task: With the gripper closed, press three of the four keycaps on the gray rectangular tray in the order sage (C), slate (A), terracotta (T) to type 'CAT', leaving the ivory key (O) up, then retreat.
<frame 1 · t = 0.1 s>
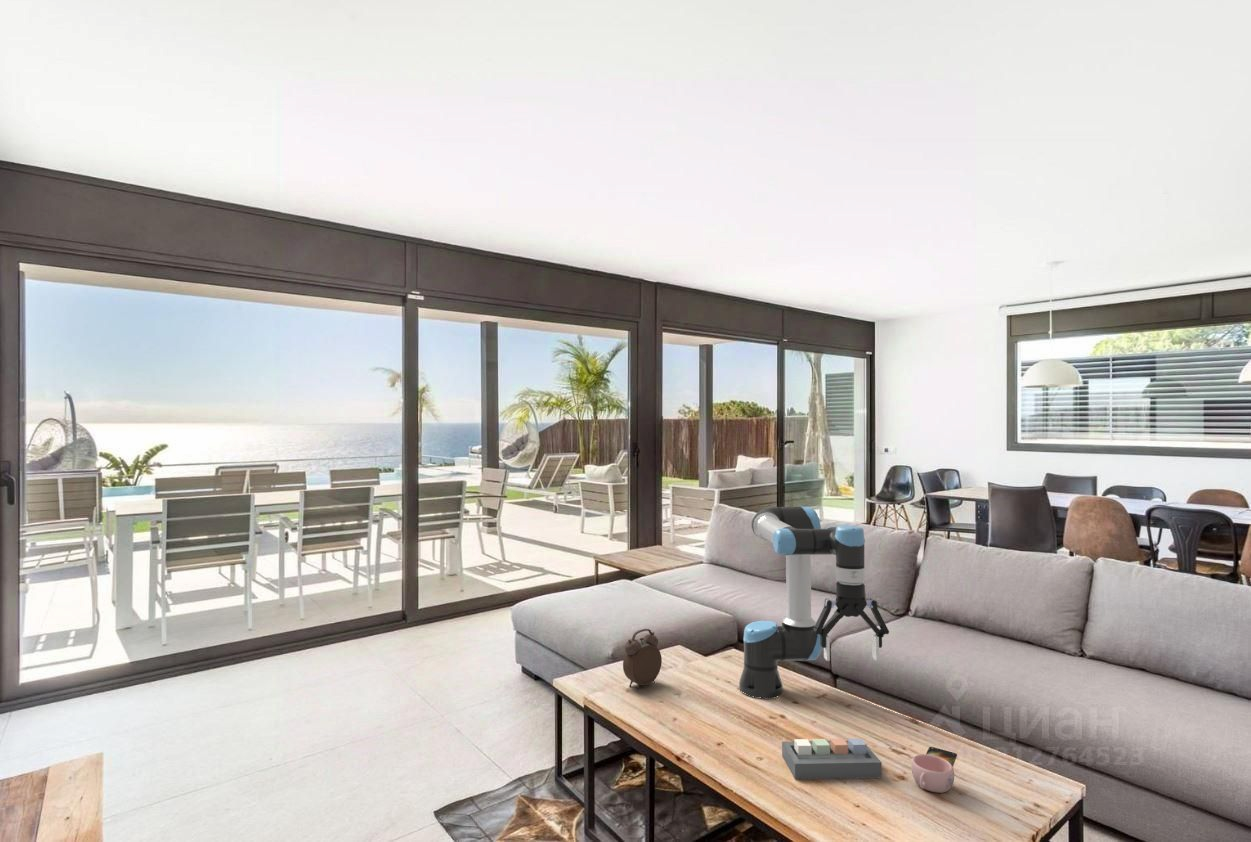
hand: (851, 659, 174), 28 cm above the table, fingers open, 13 cm apart
key A: (857, 746, 171), point 5 cm above the table, slide at 0.0 cm
key T: (839, 746, 171), point 5 cm above the table, slide at 0.0 cm
key C: (821, 746, 170), point 5 cm above the table, slide at 0.0 cm
gray rectangular tray: (830, 766, 170), on the table
key O: (802, 746, 170), point 5 cm above the table, slide at 0.0 cm
smartphone: (938, 763, 173), on the table
mug: (930, 788, 160), on the table
alarm clock: (641, 685, 227), on the table
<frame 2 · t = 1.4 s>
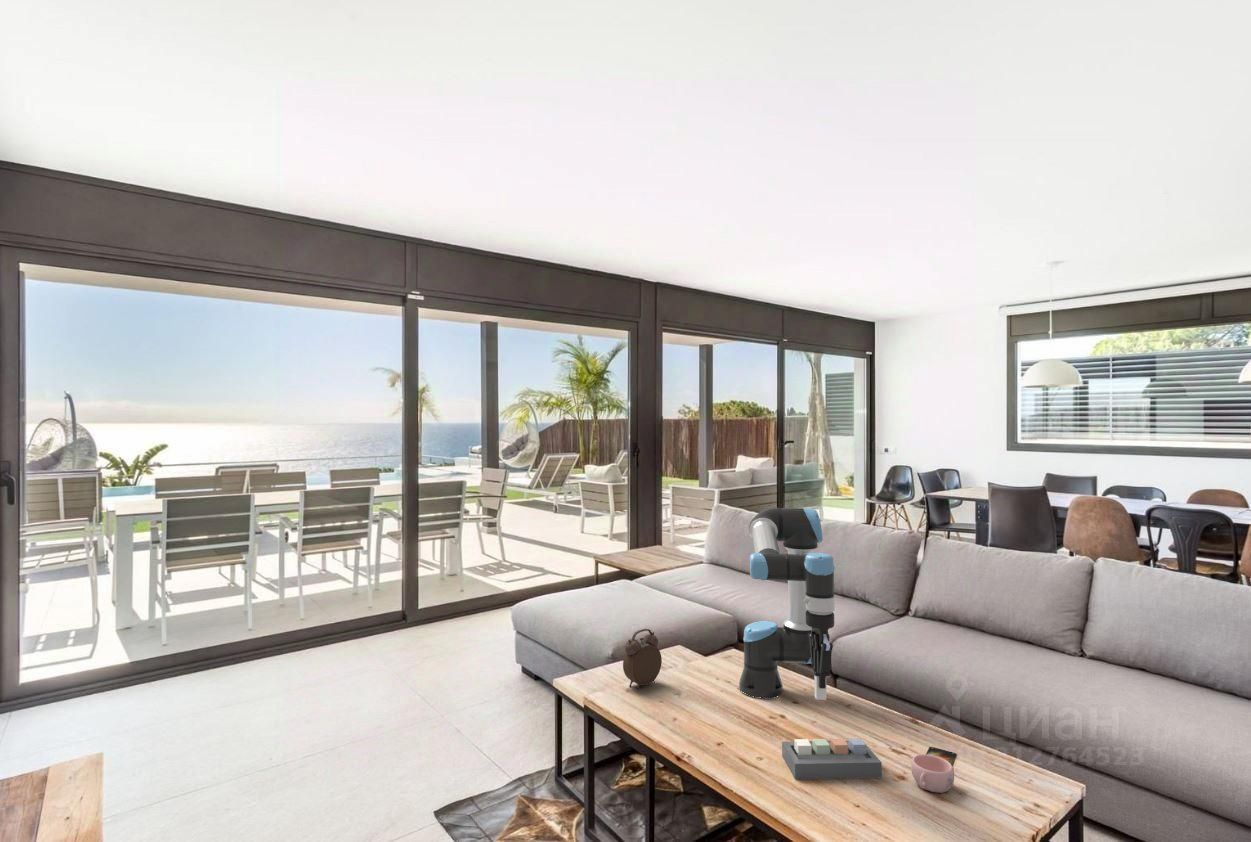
hand: (820, 698, 171), 18 cm above the table, fingers closed
nothing on the table moved.
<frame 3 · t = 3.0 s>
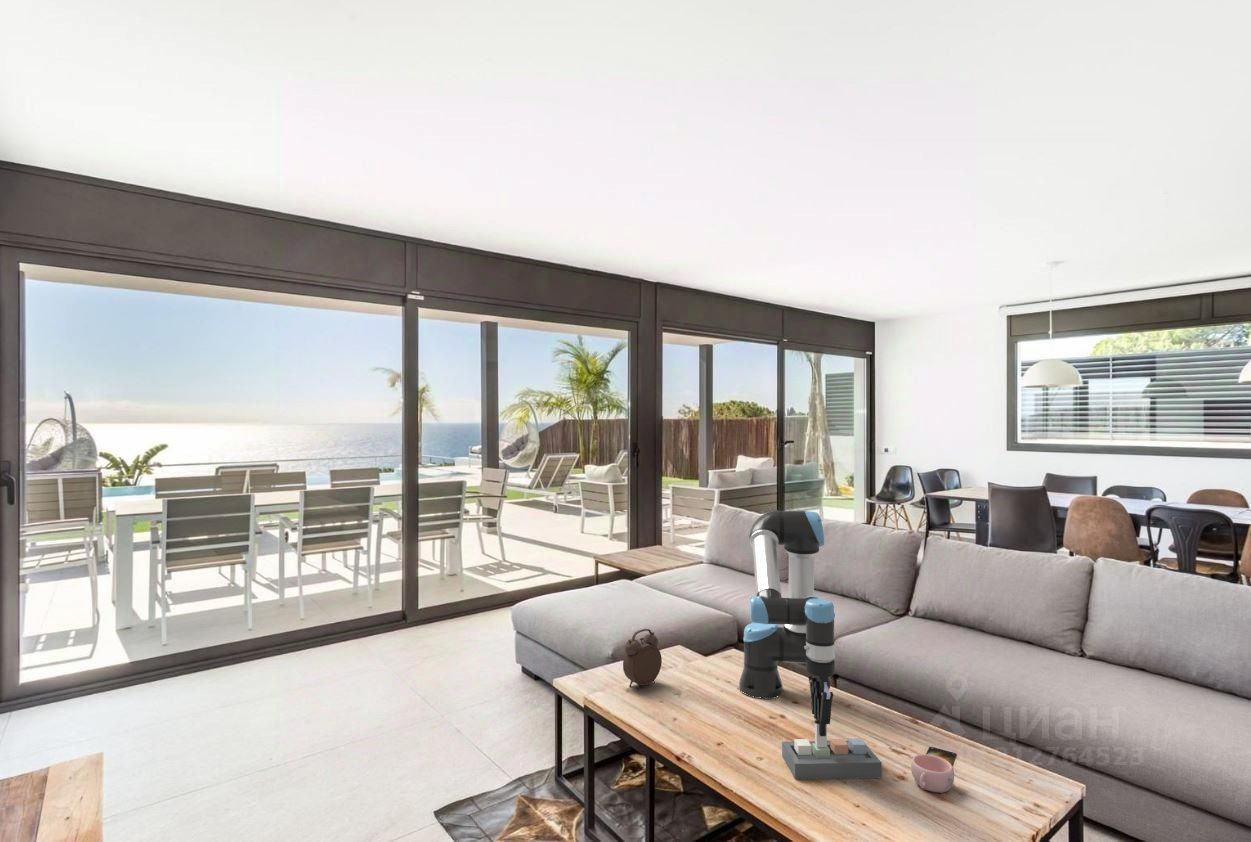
hand: (821, 745, 170), 6 cm above the table, fingers closed
key C: (821, 750, 170), point 4 cm above the table, slide at 1.2 cm, touching gripper
everything else where it was.
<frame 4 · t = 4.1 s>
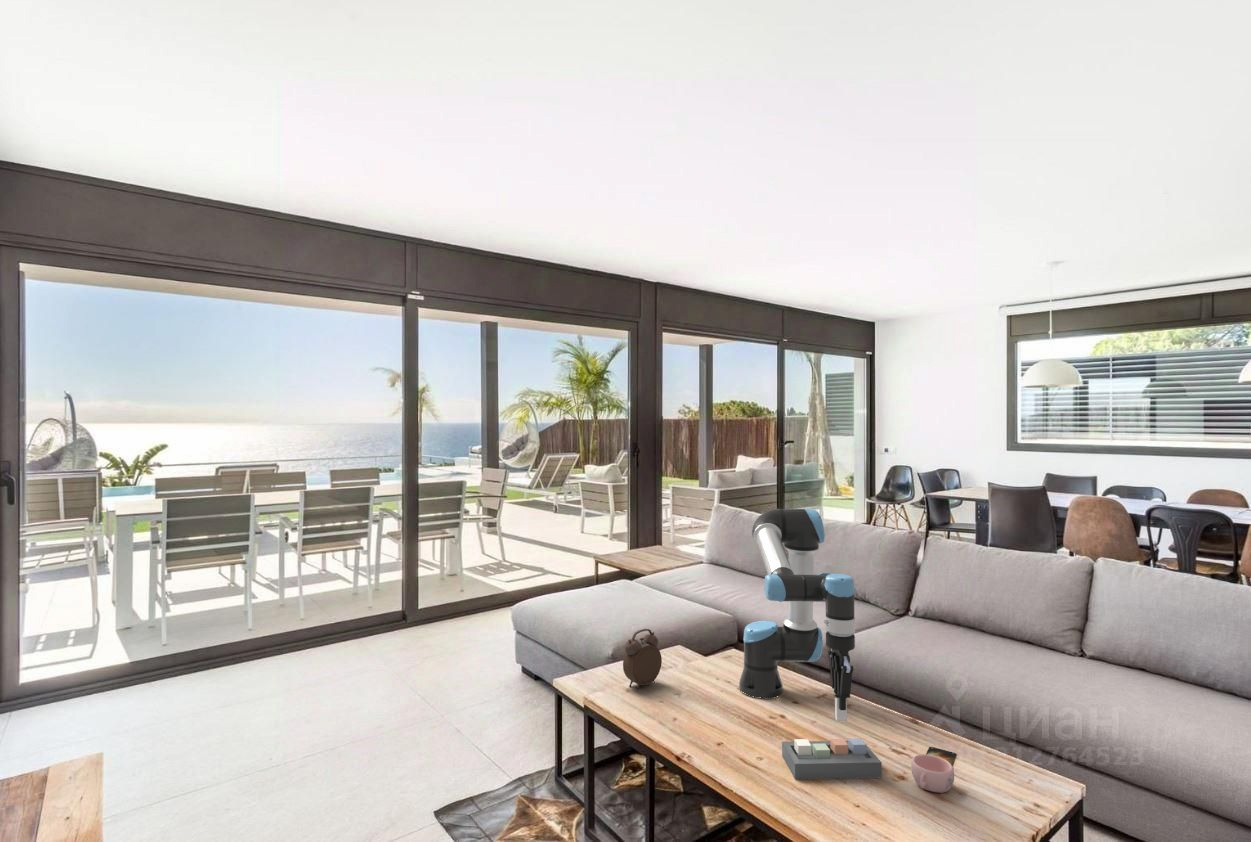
hand: (841, 720, 171), 13 cm above the table, fingers closed
key C: (821, 751, 170), point 4 cm above the table, slide at 1.2 cm
everything else where it was.
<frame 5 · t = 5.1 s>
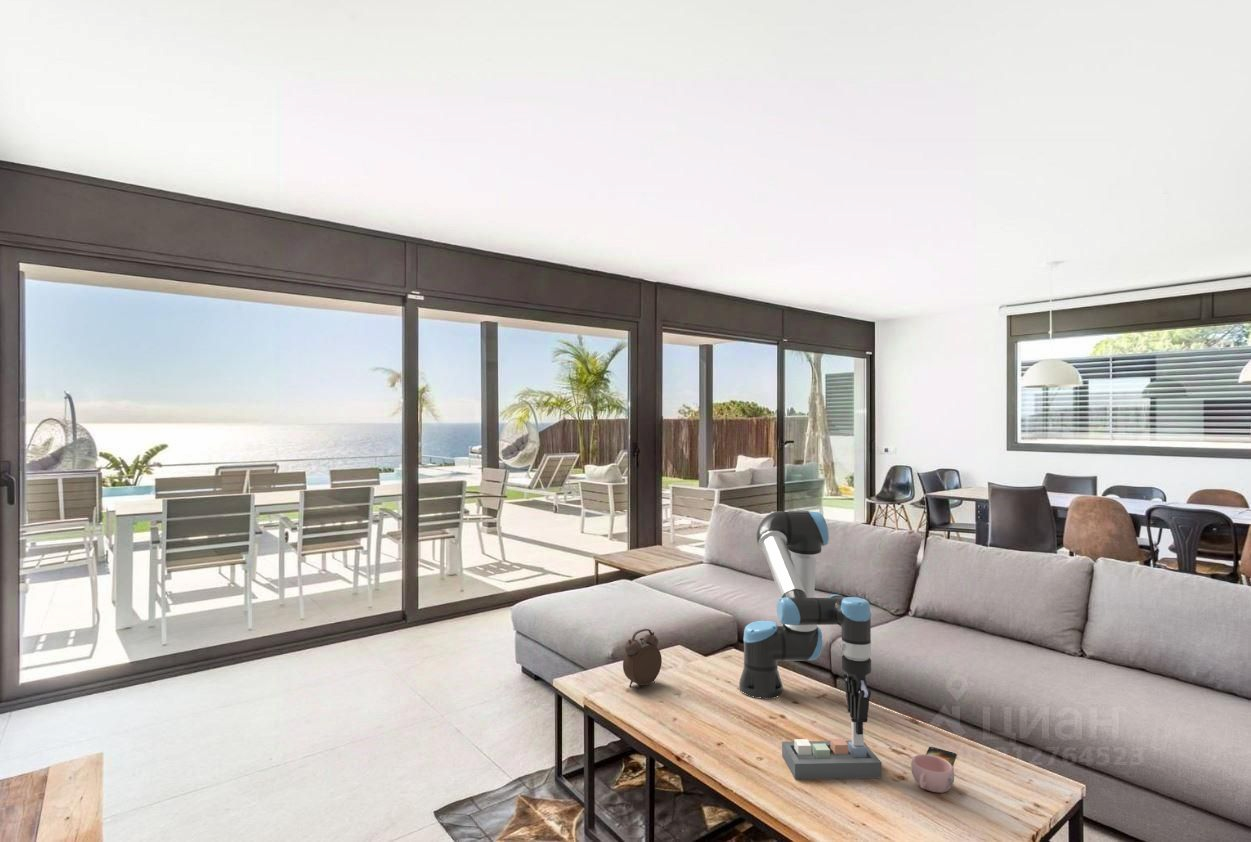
hand: (857, 744, 170), 6 cm above the table, fingers closed
key A: (857, 749, 171), point 5 cm above the table, slide at 0.9 cm, touching gripper
everything else where it was.
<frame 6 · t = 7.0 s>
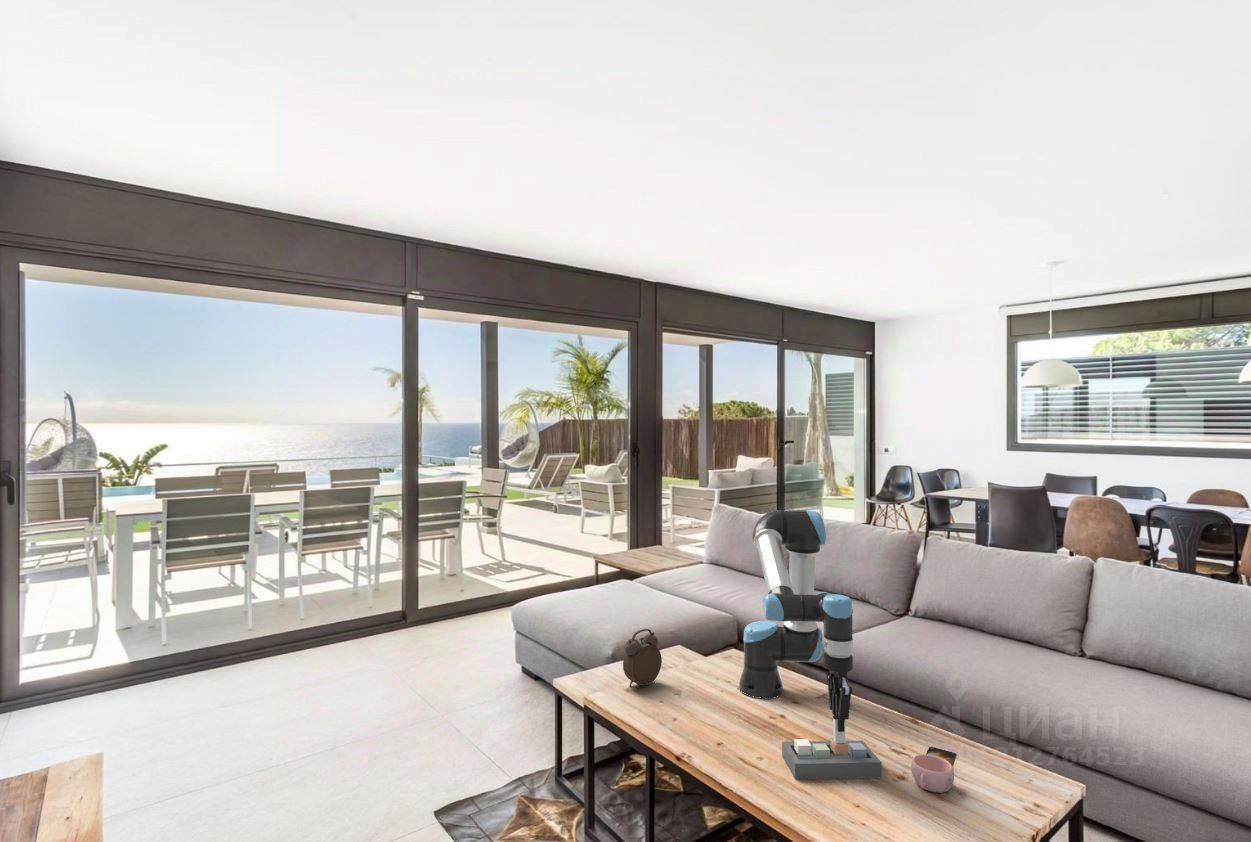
hand: (839, 741, 170), 7 cm above the table, fingers closed
key A: (857, 750, 171), point 4 cm above the table, slide at 1.2 cm
key T: (839, 746, 171), point 5 cm above the table, slide at 0.0 cm, touching gripper
everything else where it was.
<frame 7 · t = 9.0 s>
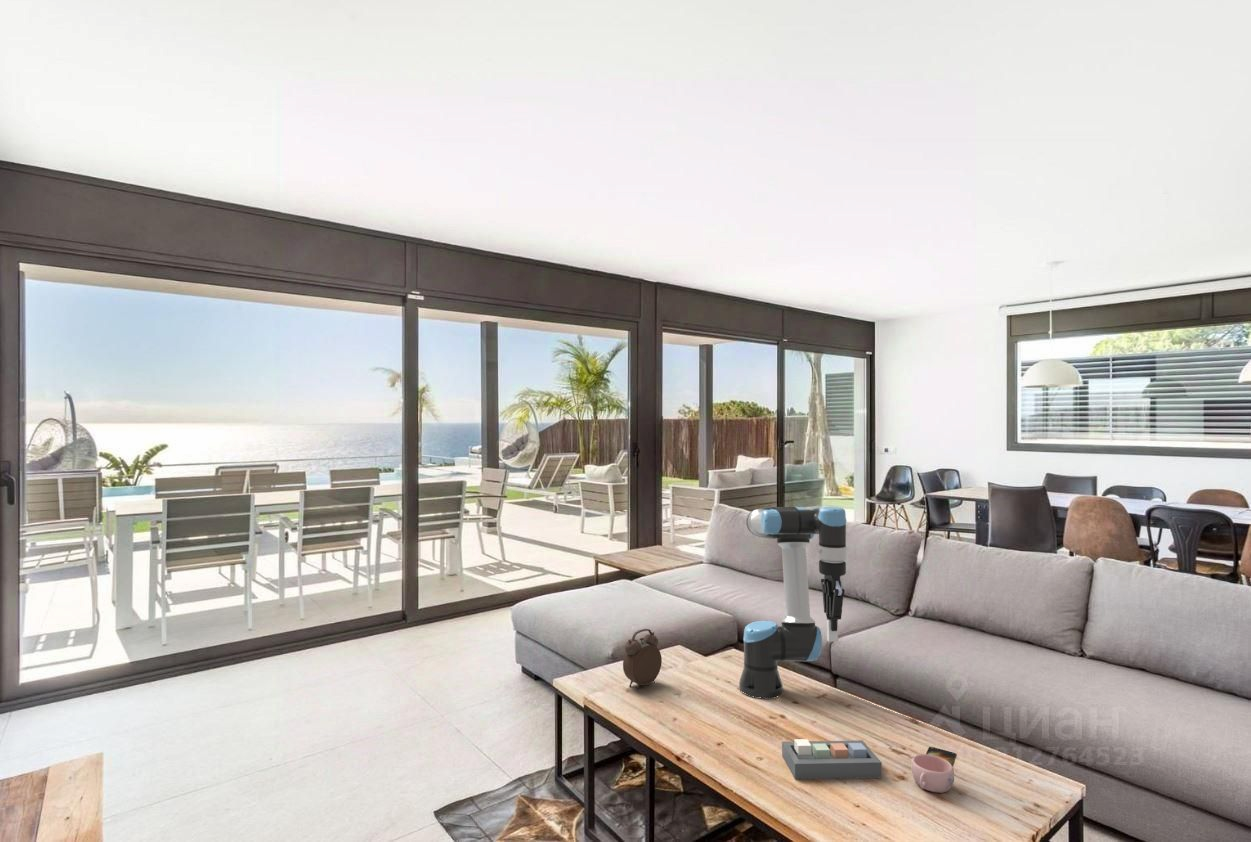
hand: (832, 640, 184), 30 cm above the table, fingers closed
key T: (839, 750, 170), point 4 cm above the table, slide at 1.2 cm
everything else where it was.
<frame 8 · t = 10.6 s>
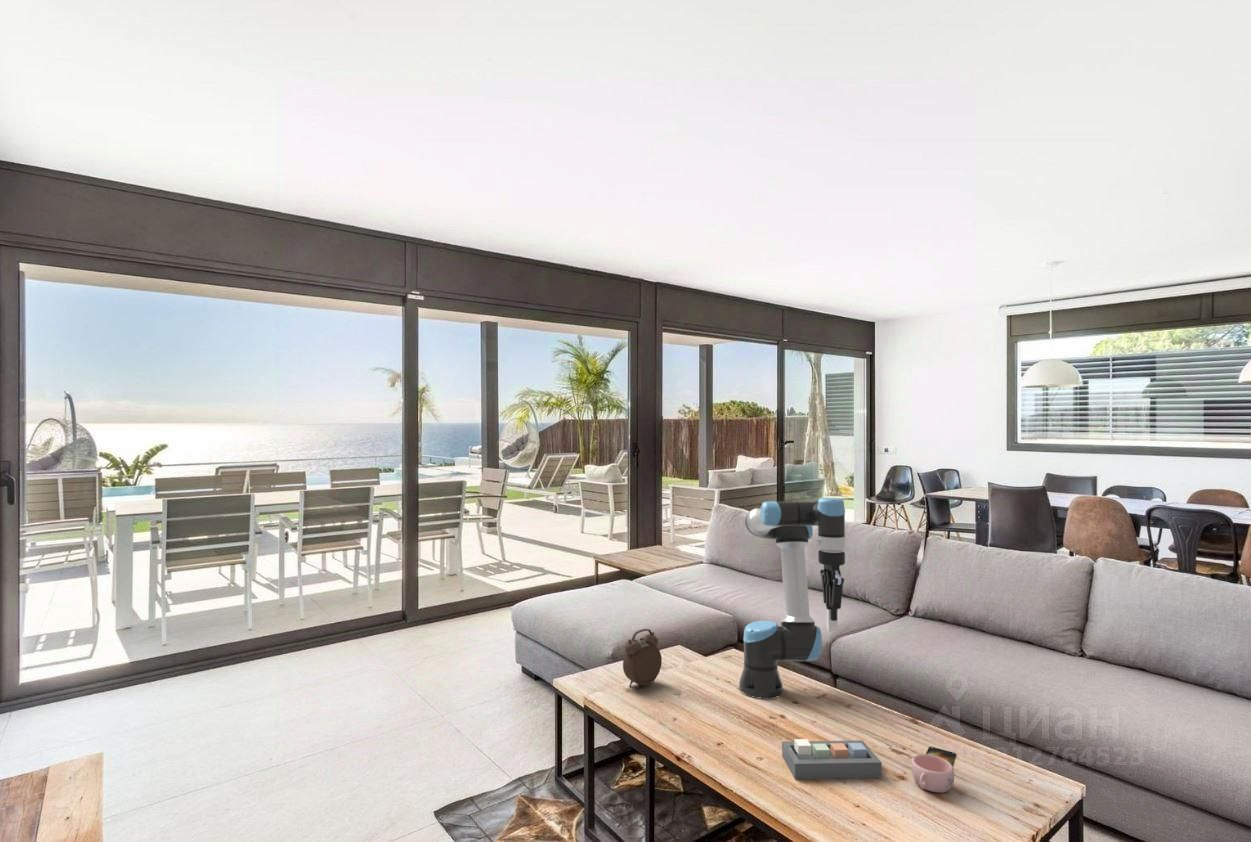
hand: (832, 630, 185), 32 cm above the table, fingers closed
nothing on the table moved.
at the end: key C slide at 1.2 cm; key A slide at 1.2 cm; key T slide at 1.2 cm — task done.
